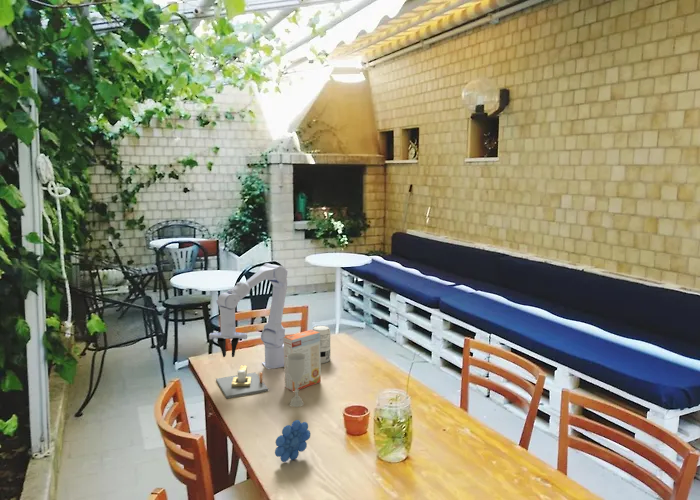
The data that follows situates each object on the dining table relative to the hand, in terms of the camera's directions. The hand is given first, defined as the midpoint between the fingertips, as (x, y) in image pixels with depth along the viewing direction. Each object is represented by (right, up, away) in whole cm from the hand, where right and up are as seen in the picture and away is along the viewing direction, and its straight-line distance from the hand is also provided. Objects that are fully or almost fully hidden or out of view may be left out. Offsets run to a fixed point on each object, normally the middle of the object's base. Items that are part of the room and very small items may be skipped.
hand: (228, 356), depth 216 cm
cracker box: (+29, -11, -2) cm, 32 cm away
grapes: (+31, -20, -55) cm, 66 cm away
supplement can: (+35, -7, +25) cm, 44 cm away
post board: (+6, -11, -3) cm, 13 cm away
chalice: (+29, -14, -18) cm, 37 cm away
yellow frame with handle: (+5, -9, -1) cm, 11 cm away
